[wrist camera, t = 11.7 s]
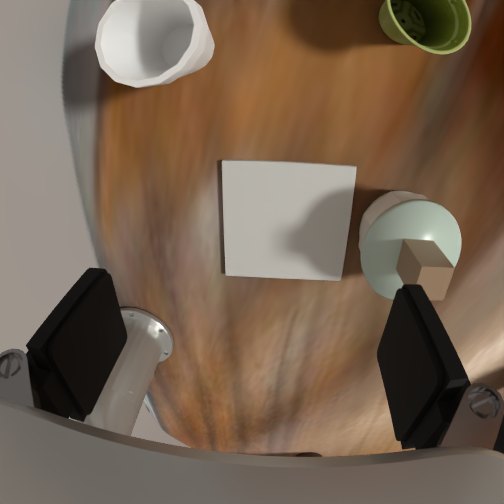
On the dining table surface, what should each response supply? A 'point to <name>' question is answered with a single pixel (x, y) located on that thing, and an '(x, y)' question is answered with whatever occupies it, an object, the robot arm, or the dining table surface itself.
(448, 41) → the plant pot
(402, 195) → the bowl
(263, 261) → the mat
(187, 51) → the foam cup
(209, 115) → the dining table surface
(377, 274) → the lid
